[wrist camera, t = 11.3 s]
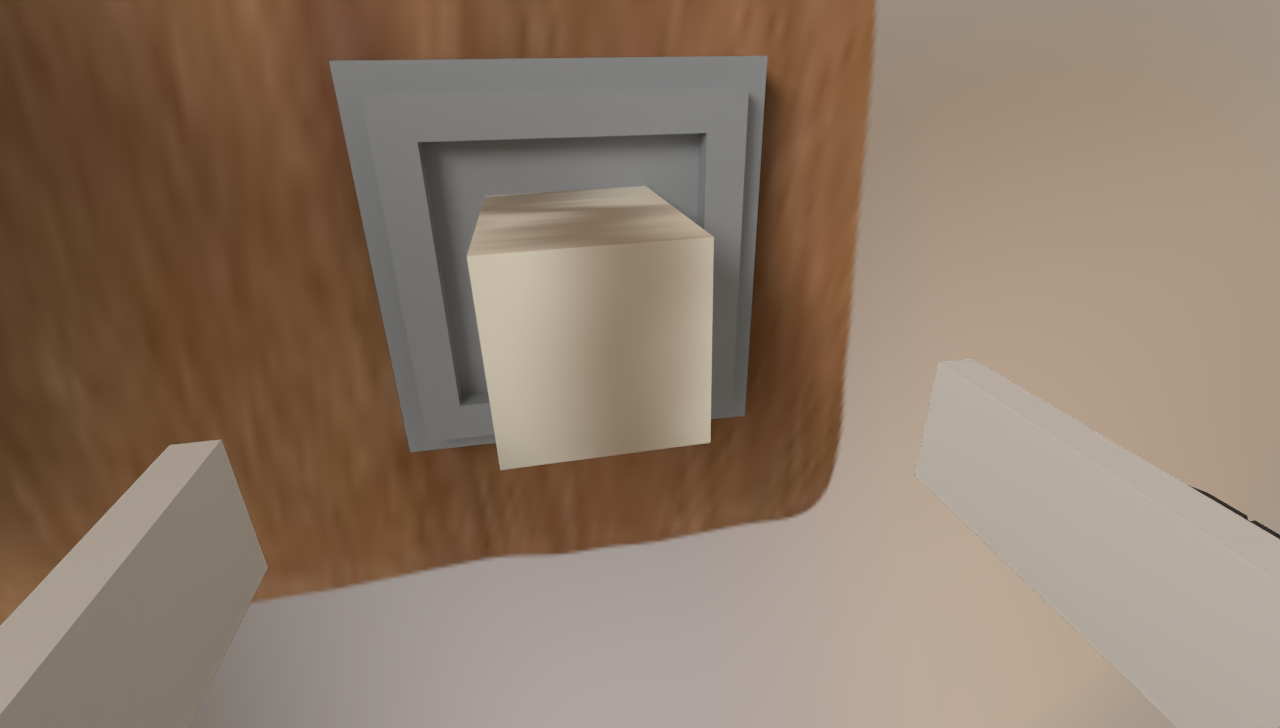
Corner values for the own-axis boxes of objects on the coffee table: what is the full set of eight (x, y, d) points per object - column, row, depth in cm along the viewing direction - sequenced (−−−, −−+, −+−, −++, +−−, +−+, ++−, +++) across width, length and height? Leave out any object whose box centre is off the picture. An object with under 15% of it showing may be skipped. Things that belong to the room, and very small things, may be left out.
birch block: (506, 346, 25) (500, 470, 17) (485, 196, 22) (466, 255, 14) (649, 331, 26) (710, 442, 18) (645, 185, 23) (713, 236, 15)
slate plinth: (417, 428, 28) (406, 465, 25) (344, 63, 21) (319, 59, 19) (731, 396, 30) (752, 426, 27) (748, 58, 24) (777, 54, 21)
